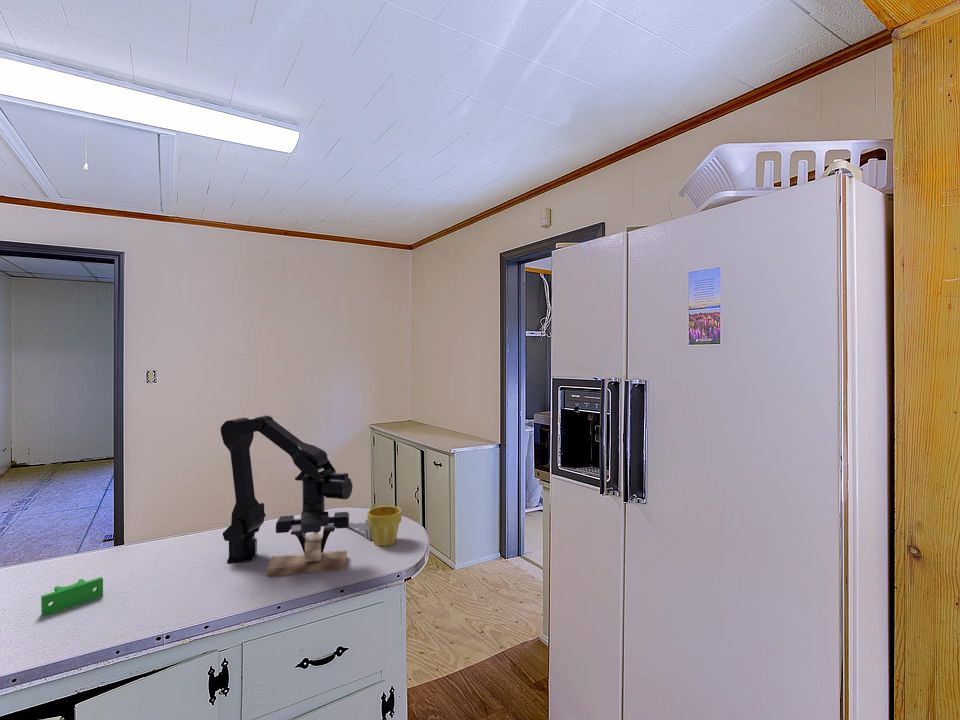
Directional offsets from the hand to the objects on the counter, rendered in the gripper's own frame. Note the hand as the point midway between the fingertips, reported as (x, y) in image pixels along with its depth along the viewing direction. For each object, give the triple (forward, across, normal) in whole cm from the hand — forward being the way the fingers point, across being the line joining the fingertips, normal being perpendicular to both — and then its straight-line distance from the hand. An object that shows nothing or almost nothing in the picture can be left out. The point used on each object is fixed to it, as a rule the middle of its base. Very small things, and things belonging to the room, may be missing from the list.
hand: (313, 553), depth 136 cm
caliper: (+4, +10, +24) cm, 27 cm away
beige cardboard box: (+1, 0, +2) cm, 2 cm away
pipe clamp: (+4, -53, -9) cm, 54 cm away
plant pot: (+4, +20, +13) cm, 24 cm away
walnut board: (+4, -1, 0) cm, 4 cm away
